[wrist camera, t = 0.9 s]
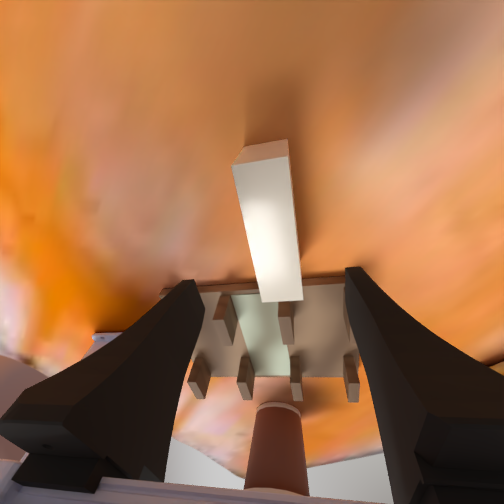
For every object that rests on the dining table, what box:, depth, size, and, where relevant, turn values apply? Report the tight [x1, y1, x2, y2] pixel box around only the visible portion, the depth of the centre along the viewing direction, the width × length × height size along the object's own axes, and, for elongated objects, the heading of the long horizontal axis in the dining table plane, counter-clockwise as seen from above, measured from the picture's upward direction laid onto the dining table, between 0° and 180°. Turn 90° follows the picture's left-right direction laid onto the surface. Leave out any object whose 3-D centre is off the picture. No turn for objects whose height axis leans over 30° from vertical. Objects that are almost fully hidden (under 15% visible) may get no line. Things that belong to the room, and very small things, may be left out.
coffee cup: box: [244, 402, 310, 496], centre depth 32 cm, size 9×9×12 cm
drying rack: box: [159, 276, 360, 402], centre depth 26 cm, size 19×14×4 cm
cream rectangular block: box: [231, 139, 304, 303], centre depth 18 cm, size 3×10×5 cm, turn 11°
